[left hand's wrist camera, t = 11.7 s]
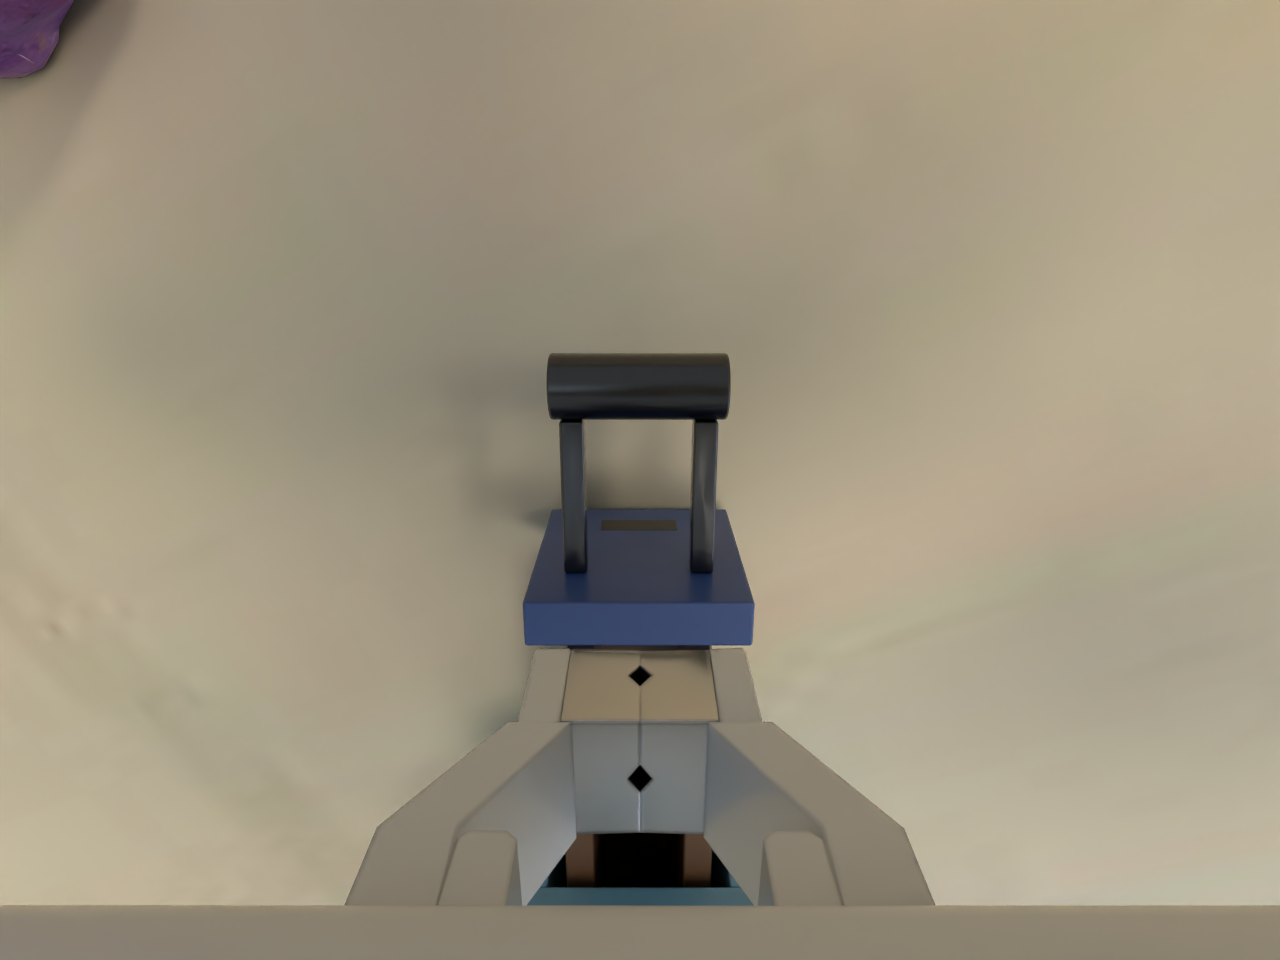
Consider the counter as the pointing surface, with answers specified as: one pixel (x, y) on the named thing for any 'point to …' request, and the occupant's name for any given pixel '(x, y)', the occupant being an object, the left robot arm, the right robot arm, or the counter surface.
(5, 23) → the figurine
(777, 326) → the counter surface
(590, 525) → the drawer
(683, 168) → the counter surface
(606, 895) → the light-blue storage box
